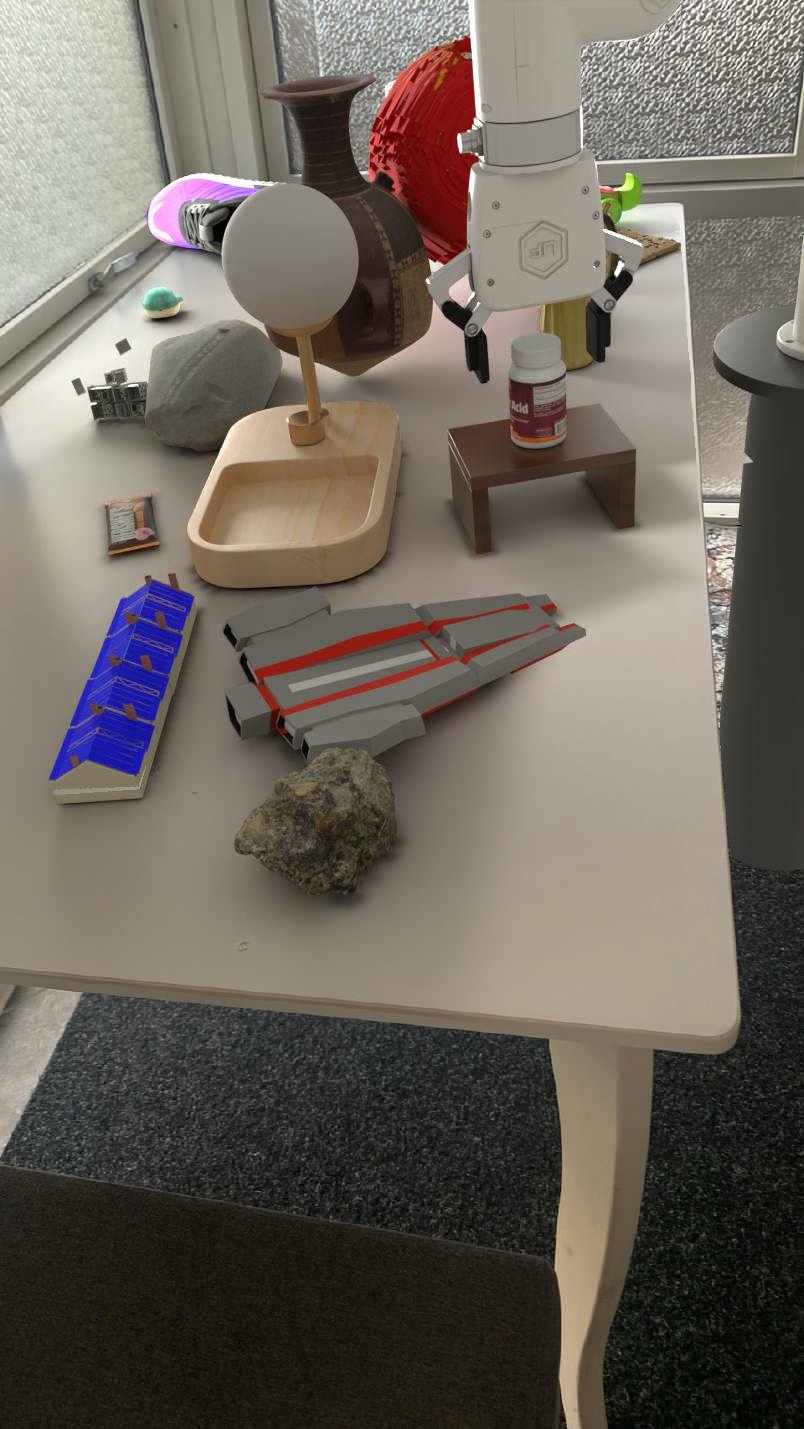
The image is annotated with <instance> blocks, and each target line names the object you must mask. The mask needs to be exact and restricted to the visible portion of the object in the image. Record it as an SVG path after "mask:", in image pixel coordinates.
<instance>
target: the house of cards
mask: <svg viewBox="0 0 804 1429" xmlns="http://www.w3.org/2000/svg"><path fill="white" fill-rule="evenodd" d="M114 346H115V348H116V350H117V352H118V354H119V356H122V355H124V354H126V353H128V352H129V351H132V347H131V345H130V343H129V341H128V338H127V337H124V338H123V339H121V340H119V341H118V342H117V343H115V344H114ZM103 376H104V380H105V384H97V385H94V384H92V385H88V386H86V389H85V387H84V385H83V382H82V380H81V378H80V377H77V378H74V379H72V380H71V381H70V382H71V384H72V386H73V388H74V390H75V392H76V395H77V397H79V396H82V395H84V394H86V393H87V394H88V399H89V404H90V409H91V414H92V417H93V421H94V422H95V421H97V420H103V419H110V418H111V419H113V418H118V419H119V420H122V419H127V418H138V417H143V418H144V420H145V410H146V399H147V388H148V381H132V382H128V383H127V381H128V374H127V370H126V367H121V368H118V369H113V370H110V371H108V372H105V373H103ZM86 390H87V391H86Z"/></svg>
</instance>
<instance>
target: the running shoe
mask: <svg viewBox="0 0 804 1429" xmlns="http://www.w3.org/2000/svg"><path fill="white" fill-rule="evenodd" d="M276 184H286V182H279V181H275V182H273V181H265V180H262V181H259V180H254V181H253V180H251V179H245V178H237V177H231V176H223V175H222V174H214V173H207V172H203V173H195V174H190V175H185V176H184V177H180V178H178V179H177V180H173V181H172V182H171V183H170V184H168V185H167V186H165V187H164V188H163V189H162V190H161V191H160V192H158V193H157V194H156V195H155V196H154V197H153V199H151V201H150V203H149V205H148V207H147V210H146V214H145V217H146V223H147V226H148V229H149V231H150V232H151V233H152V235H153V236H154V237H156V239H158V240H159V241H162V242H164V243H167V244H169V245H172V246H177V247H181V248H187V249H196V250H197V249H199V250H204V251H207V252H210V253H211V252H212V253H215V254H218V255H220V256H222V244H223V238H224V234H225V230H226V228H227V225H228V223H229V221H230V219H231V217H232V215H233V214H234V212H235V211H236V209H237V208H238V207H239V206H240V204H241V203H242V202H243V201H244V200H246V199H247V198H248V197H249V196H251V195H252V194H253V193H255V192H257V191H259V190H261V189H263V188H265V187H268V186H272V185H276Z"/></svg>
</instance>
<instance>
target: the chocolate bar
mask: <svg viewBox="0 0 804 1429" xmlns="http://www.w3.org/2000/svg"><path fill="white" fill-rule="evenodd" d="M153 495H154V494H153V492H150V493H144V494H140V495H135V496H131V497H126V498H125V497H123V498H120V499H114V500H110V501H105V502H103V506H104V508H105V511H106V525H107V540H108V542H107V543H108V548H107V551H106V556H110V555H114V554H120V553H124V552H130V551H134V550H138V549H143V548H149V547H152V546H157V545H158V546H159V545H160V540H159V538H158V537H157V533H156V525H155V518H154V511H153V502H152V499H153Z"/></svg>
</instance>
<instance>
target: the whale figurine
mask: <svg viewBox="0 0 804 1429" xmlns="http://www.w3.org/2000/svg"><path fill="white" fill-rule="evenodd" d="M143 299H144V300H143V301H142V303H141V307H142V308H143V309H144V310H145V314H146V315H147V316H148V317H150V318H152V319H162V318H163V319H164V318H169V317H173V316H175V315H178V313H179V312H180V308H181V306H182V305H183V304H184V302H185V299H184V298H183V297H182V296H181V295H176V294H175V293H174V291H173V290H171V289H169V288H168V287H166V286H165V287H164V286H156V287H153V288H151V289H150V290H148V291H147V293H146V294H145V296H144V298H143Z"/></svg>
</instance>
